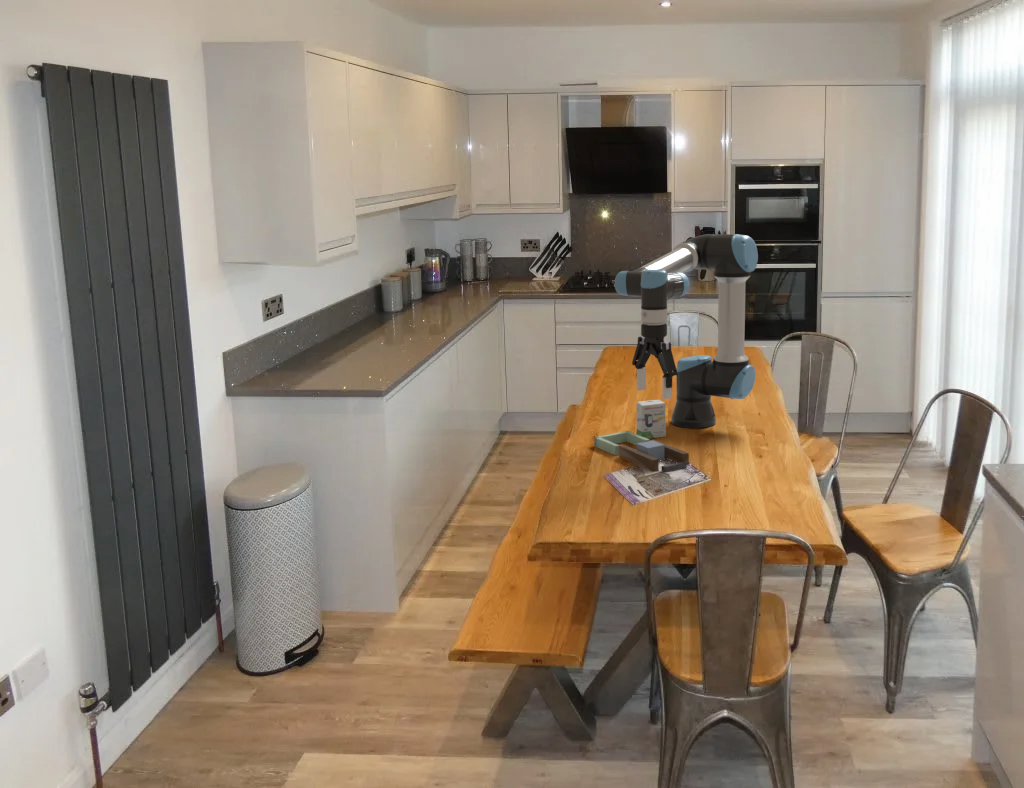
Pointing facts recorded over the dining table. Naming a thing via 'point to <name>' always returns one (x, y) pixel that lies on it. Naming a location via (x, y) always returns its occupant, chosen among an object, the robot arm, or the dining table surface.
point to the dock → (617, 441)
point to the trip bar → (674, 466)
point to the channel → (650, 461)
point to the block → (652, 449)
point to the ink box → (651, 419)
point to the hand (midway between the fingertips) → (654, 394)
